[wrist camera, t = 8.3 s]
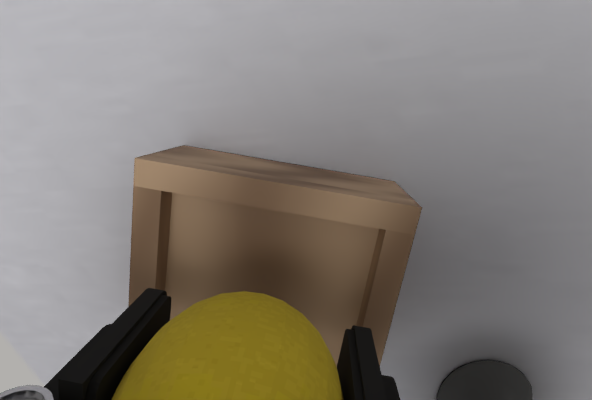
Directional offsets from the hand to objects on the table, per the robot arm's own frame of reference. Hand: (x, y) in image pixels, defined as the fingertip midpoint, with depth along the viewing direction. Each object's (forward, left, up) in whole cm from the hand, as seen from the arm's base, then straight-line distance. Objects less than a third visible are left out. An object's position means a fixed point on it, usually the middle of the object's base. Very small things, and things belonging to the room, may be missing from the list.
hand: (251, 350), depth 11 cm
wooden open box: (0, 0, -7) cm, 7 cm away
